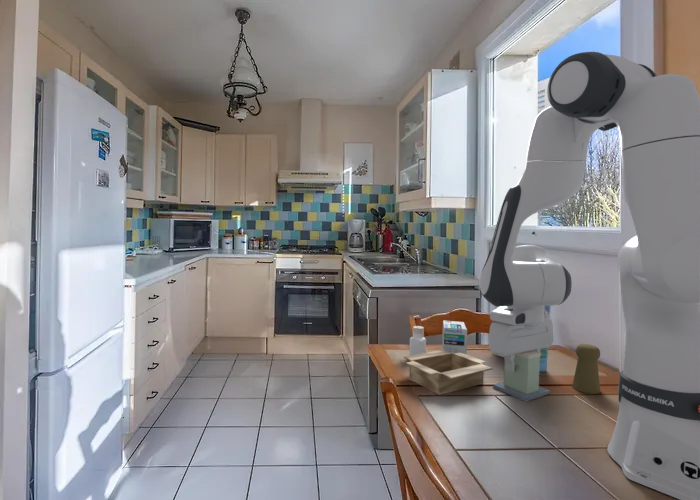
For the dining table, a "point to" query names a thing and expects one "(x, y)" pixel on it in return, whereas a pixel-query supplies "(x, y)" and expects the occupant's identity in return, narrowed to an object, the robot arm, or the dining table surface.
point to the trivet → (520, 394)
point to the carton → (446, 371)
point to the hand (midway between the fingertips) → (521, 368)
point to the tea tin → (524, 372)
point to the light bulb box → (454, 337)
